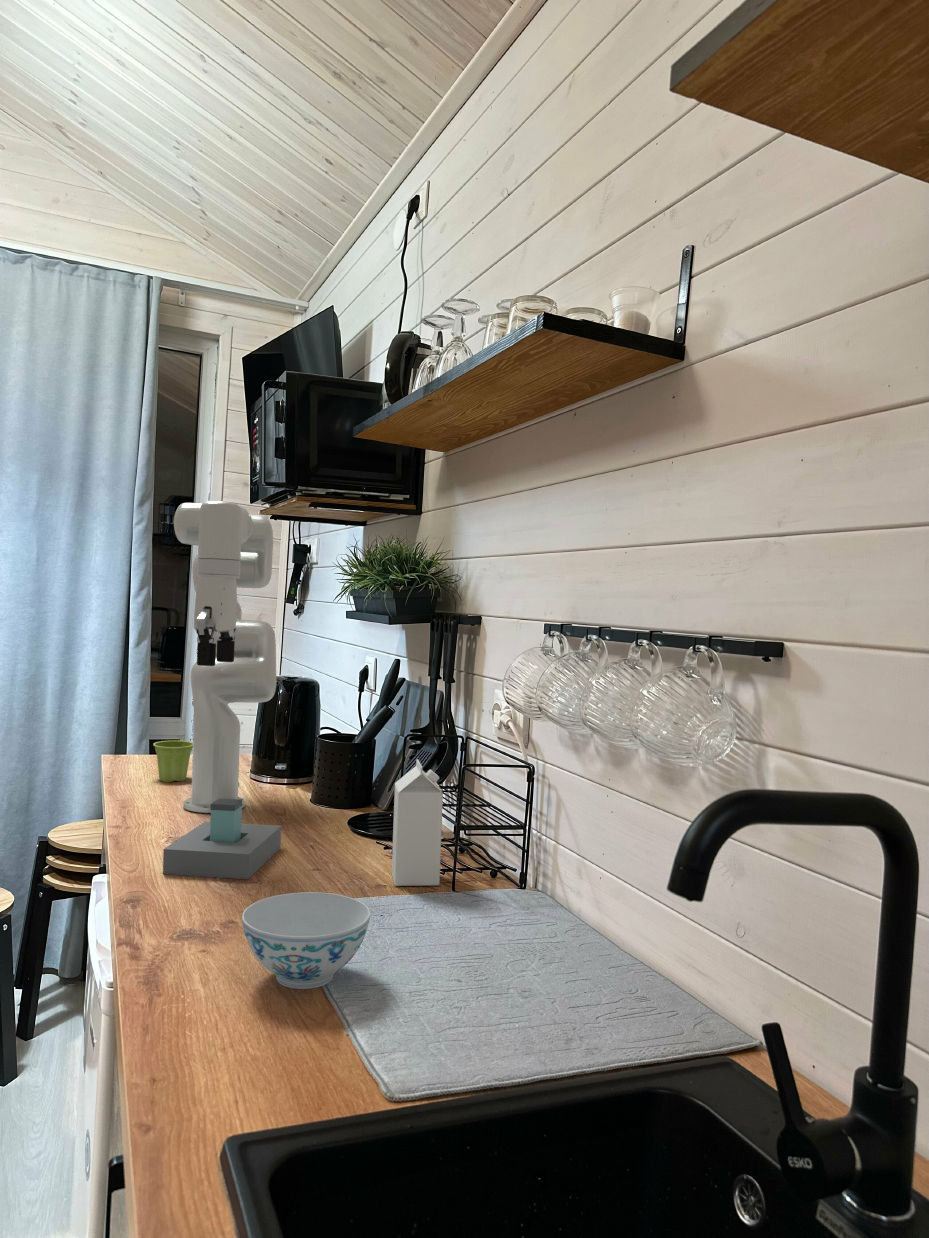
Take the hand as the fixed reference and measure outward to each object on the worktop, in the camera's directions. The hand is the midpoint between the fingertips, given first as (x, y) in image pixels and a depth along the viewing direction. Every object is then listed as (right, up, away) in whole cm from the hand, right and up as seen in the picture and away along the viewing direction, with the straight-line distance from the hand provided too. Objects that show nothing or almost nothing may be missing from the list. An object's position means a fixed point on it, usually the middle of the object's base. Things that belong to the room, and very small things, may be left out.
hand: (215, 663), depth 163 cm
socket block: (+5, -33, -12) cm, 35 cm away
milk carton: (+37, -34, -18) cm, 54 cm away
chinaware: (+26, -35, -57) cm, 71 cm away
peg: (+5, -33, -12) cm, 35 cm away
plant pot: (-24, -31, +51) cm, 64 cm away
